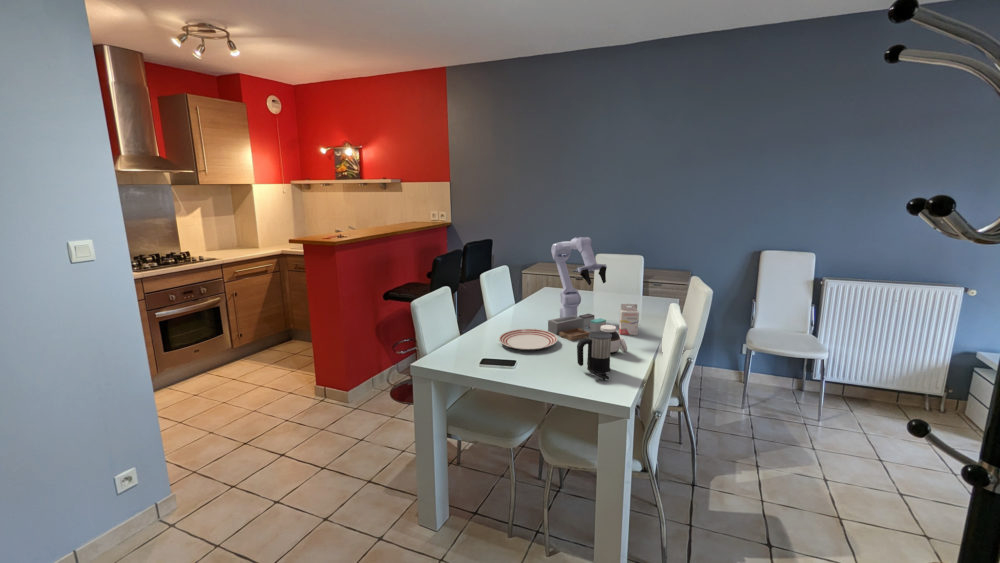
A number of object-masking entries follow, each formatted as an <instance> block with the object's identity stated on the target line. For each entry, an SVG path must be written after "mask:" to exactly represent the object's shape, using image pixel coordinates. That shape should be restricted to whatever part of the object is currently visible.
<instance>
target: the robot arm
mask: <svg viewBox="0 0 1000 563" xmlns="http://www.w3.org/2000/svg"><path fill="white" fill-rule="evenodd" d="M592 241H593V240H592V239H591V238H590V237H589V236H586V237H582V236H575V237H574V238H572V239H570V241H566V240H565V241H559V242H556V243H552V246H551V247H550V248H551V250H550V252H551V255H552V256H551V257H552V260H553V261H555V264H556V267H557V271H558V274H559V278H560V281H561V285H562V291H561V292H560V294H559V298H560V303H561V306H560V307H559V318H562V317H567V316H572V315H575V316H578V307H579V305H580V304H581V303H582V296H581V294H580V292H579V290H578V289H577V288H575V287H573V283H572V279H571V276H570V272H569V269H568V267H567V266H568V265H567V263H566V261H567V260H569V258H570V255H571V252H572V250H578V252H579V253H580V255H581V258H582V261H583V263H584V266H579V267H578V268H577V271H578V273H580V277H581V278H583V279H584V280H585V282H586V283H587V284H588V286H591V285H592V280H591V277H590V273H589V272H593V271H598V275H599V277H600V279H601V282H602V284H605V283H606V282H607V278H606V272H607V269H608V266H607V264H606V263H605V264H602V263H597V259H596V257H595V254H594V250H593V248H592V245H593V242H592Z"/></svg>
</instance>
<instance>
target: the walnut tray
mask: <svg viewBox="0 0 1000 563" xmlns="http://www.w3.org/2000/svg"><path fill="white" fill-rule="evenodd" d="M589 333H590V331H587V330H585V329H584V328H583V329H580V328H574V329H570V330H566V331H561V332H559V335H558V337H561V338H562V339H565V340H568V341H570V342H574V341H577V340H581V339H583V338H586V337H587V338H589Z"/></svg>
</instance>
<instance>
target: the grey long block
mask: <svg viewBox="0 0 1000 563" xmlns="http://www.w3.org/2000/svg"><path fill="white" fill-rule="evenodd" d="M547 323H548V324H547V331H548V332H551V333H553V334H555V335H556V336H559V332H561V331H566V330H570V329H574V328H580V329H583V330H584V328H583V318H581V317H579V315H577V316H575V315H572V316H567V317H562V318H560V317H558V318H554V319H553V318H552V319H548V320H547Z"/></svg>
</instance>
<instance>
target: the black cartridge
mask: <svg viewBox="0 0 1000 563" xmlns="http://www.w3.org/2000/svg"><path fill="white" fill-rule="evenodd" d="M578 317H581V318H583V329H588V328H590V320H595V314H592V313H586V314H584V313H583V314H582V315H581V314H579V315H578ZM587 327H588V328H587Z"/></svg>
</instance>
